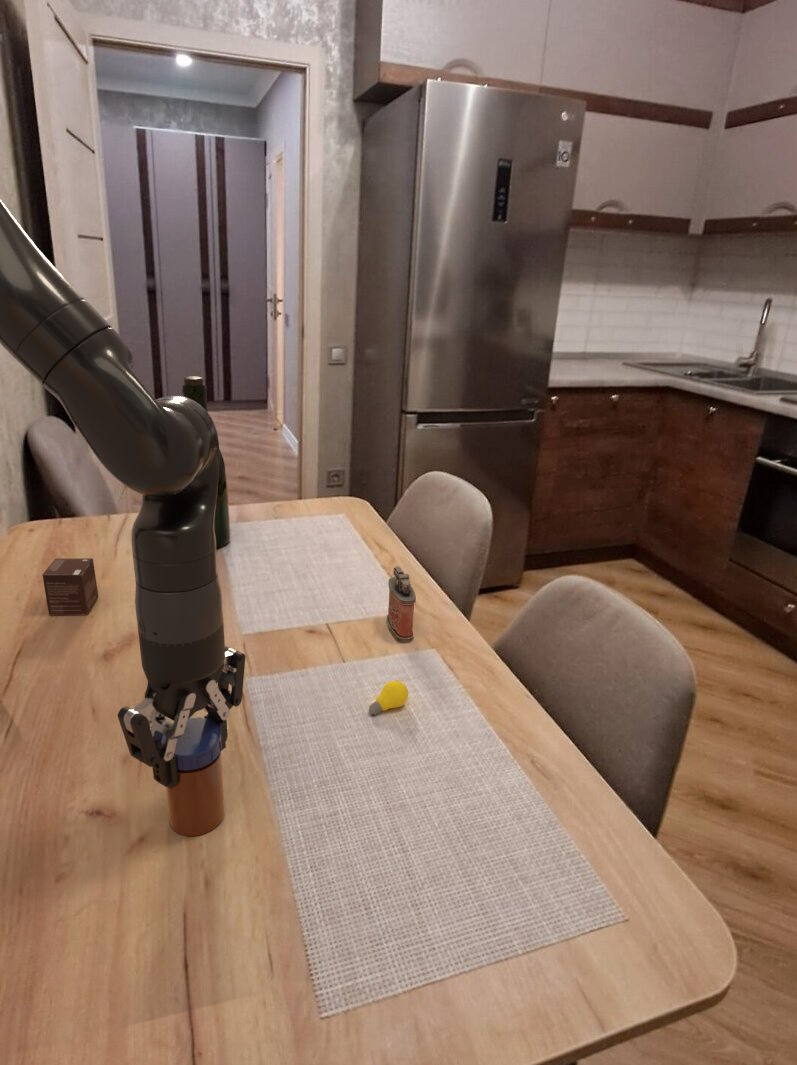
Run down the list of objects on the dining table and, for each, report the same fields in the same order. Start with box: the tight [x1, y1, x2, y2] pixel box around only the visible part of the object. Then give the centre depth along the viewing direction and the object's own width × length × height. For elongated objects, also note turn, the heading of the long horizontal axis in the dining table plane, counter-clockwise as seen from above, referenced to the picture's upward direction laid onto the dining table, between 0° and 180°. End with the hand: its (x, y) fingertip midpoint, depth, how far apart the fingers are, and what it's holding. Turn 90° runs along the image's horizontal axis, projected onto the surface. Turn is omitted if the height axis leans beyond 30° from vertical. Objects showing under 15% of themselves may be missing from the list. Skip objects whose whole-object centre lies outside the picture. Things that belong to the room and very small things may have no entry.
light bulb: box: [368, 680, 409, 716], centre depth 88 cm, size 3×6×4 cm, turn 128°
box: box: [42, 557, 99, 616], centre depth 107 cm, size 6×6×7 cm
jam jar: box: [165, 751, 226, 837], centre depth 68 cm, size 6×6×10 cm
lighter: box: [386, 565, 417, 644], centre depth 105 cm, size 8×3×10 cm, turn 17°
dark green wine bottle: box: [181, 375, 231, 549], centre depth 129 cm, size 10×10×33 cm
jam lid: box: [161, 717, 222, 770], centre depth 66 cm, size 6×6×2 cm
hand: (193, 764), depth 68 cm, fingers closed on jam lid, 5 cm apart
